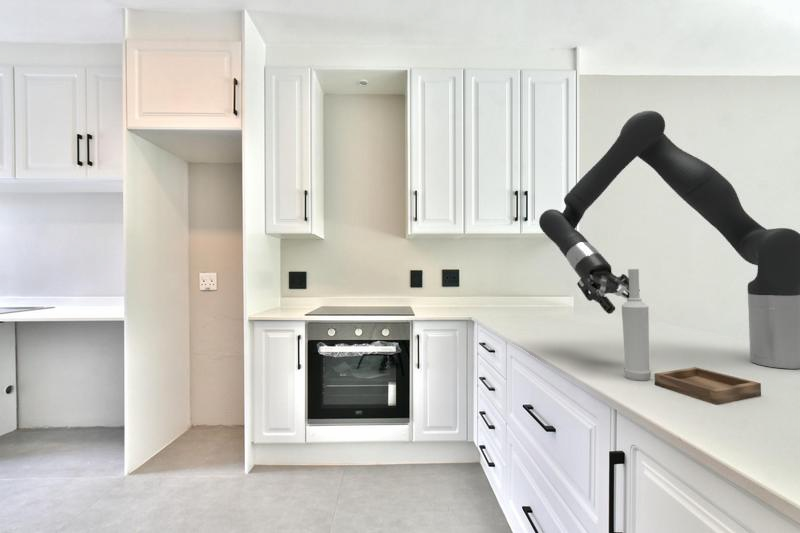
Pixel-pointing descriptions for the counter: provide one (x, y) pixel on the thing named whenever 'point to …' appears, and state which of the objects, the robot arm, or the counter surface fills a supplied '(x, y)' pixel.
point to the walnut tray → (708, 385)
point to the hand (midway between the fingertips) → (626, 310)
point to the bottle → (636, 332)
